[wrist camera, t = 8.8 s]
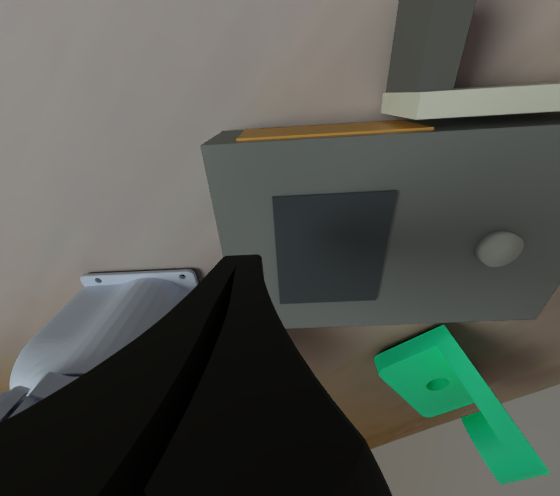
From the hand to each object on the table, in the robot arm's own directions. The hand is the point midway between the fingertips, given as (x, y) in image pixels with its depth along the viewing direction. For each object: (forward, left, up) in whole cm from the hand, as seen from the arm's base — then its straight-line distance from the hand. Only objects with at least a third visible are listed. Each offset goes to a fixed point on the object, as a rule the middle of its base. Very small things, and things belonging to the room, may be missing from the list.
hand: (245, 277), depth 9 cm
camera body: (+8, -2, -9) cm, 13 cm away
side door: (+12, +7, -9) cm, 17 cm away
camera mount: (+16, -20, -10) cm, 28 cm away
